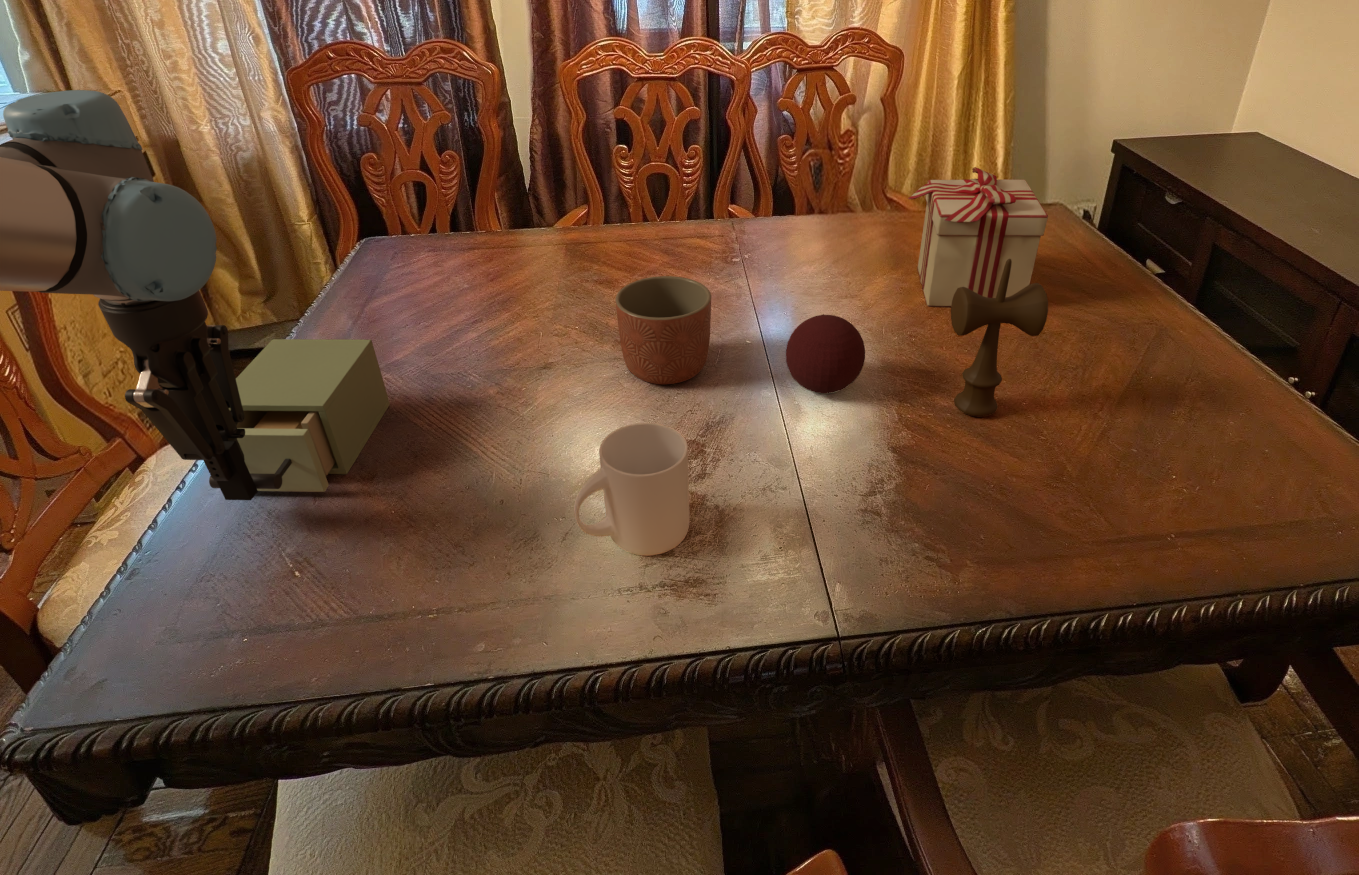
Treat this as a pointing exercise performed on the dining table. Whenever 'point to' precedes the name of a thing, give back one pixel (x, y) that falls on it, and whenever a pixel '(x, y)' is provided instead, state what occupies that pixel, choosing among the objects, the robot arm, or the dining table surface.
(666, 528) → the mug
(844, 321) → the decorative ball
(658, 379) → the planter
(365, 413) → the cabinet
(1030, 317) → the kendama
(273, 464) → the drawer
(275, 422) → the block
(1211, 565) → the dining table surface
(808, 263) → the dining table surface
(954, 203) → the gift box
